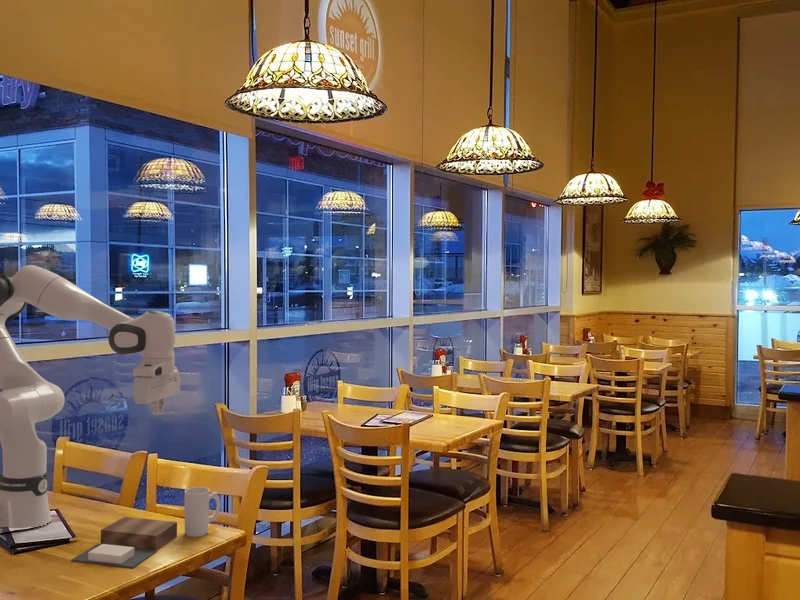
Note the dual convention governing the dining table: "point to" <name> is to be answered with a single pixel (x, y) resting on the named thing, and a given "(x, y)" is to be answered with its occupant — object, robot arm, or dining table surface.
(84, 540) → the dining table surface
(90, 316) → the robot arm
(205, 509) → the mug
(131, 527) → the riser board
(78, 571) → the dining table surface
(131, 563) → the bar mat
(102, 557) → the grey flat block
